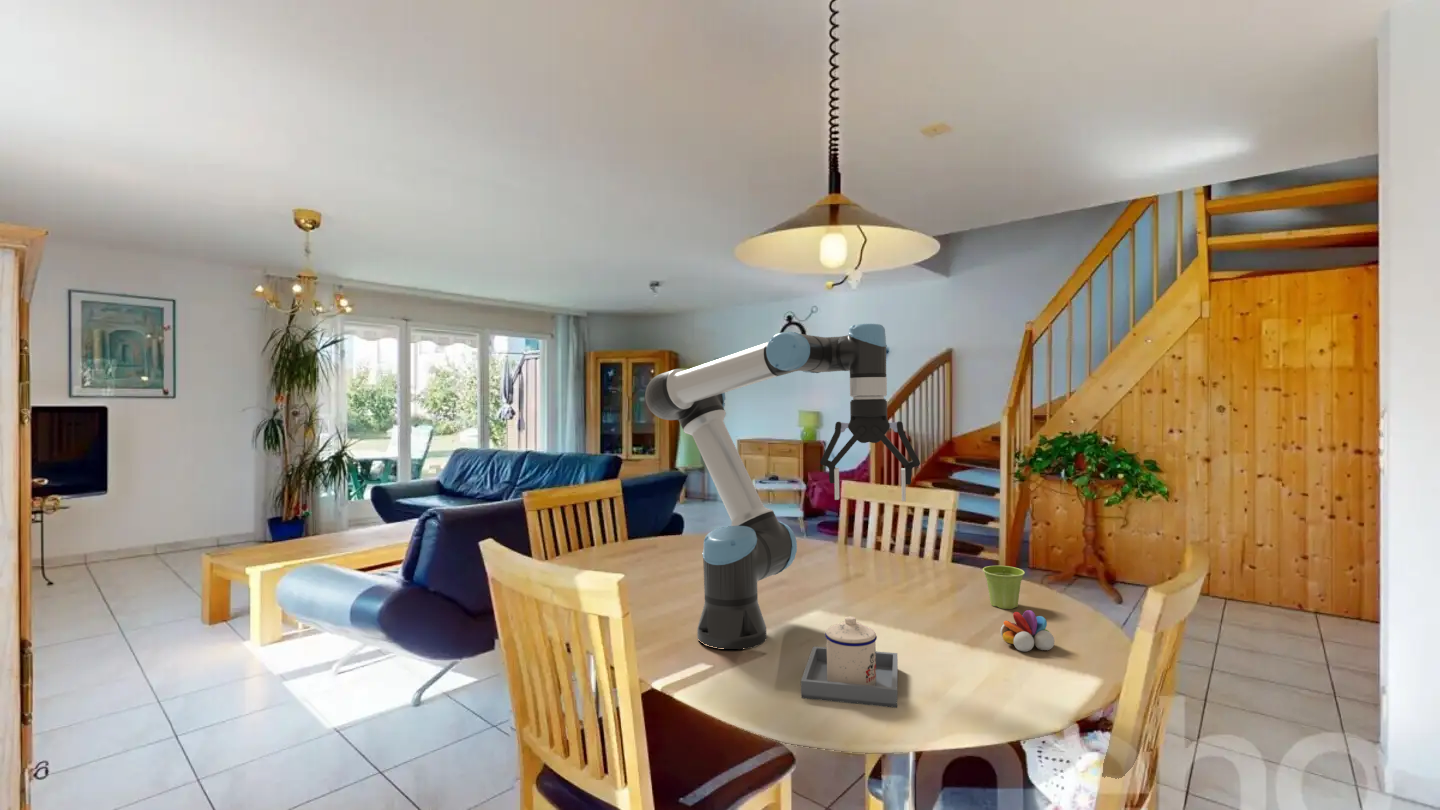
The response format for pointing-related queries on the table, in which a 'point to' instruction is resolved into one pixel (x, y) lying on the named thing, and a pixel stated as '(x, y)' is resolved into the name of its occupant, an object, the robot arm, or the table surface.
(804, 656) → the table surface
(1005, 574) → the plant pot
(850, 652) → the teacup with lid
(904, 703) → the table surface
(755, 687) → the table surface
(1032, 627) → the rainbow segmented toy
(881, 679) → the tray
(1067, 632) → the table surface
